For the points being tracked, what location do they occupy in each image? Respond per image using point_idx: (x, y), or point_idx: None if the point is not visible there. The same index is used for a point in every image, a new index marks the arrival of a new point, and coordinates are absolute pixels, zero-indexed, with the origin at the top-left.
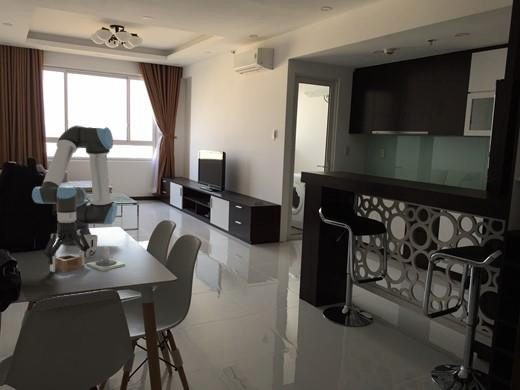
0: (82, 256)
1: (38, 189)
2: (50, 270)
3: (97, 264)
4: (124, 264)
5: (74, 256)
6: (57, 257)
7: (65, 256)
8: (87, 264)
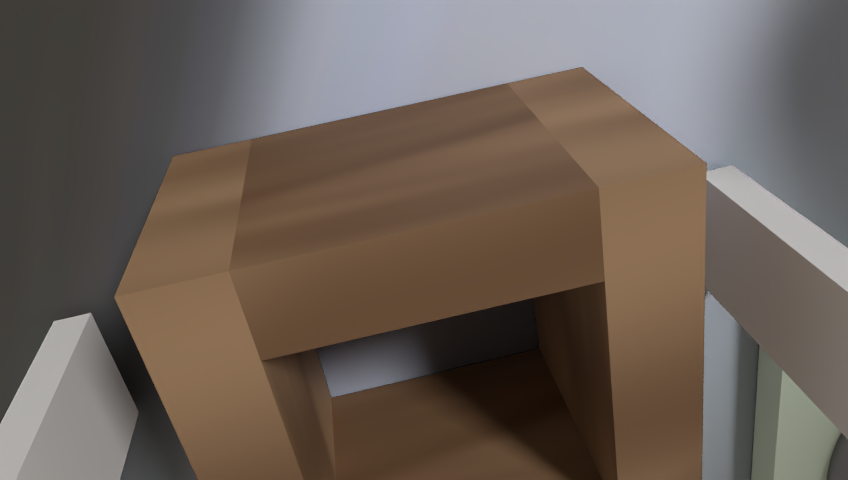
0: (812, 391)
1: None
2: (56, 337)
3: (843, 474)
4: None
5: (634, 434)
6: (211, 342)
7: (458, 307)
8: None
